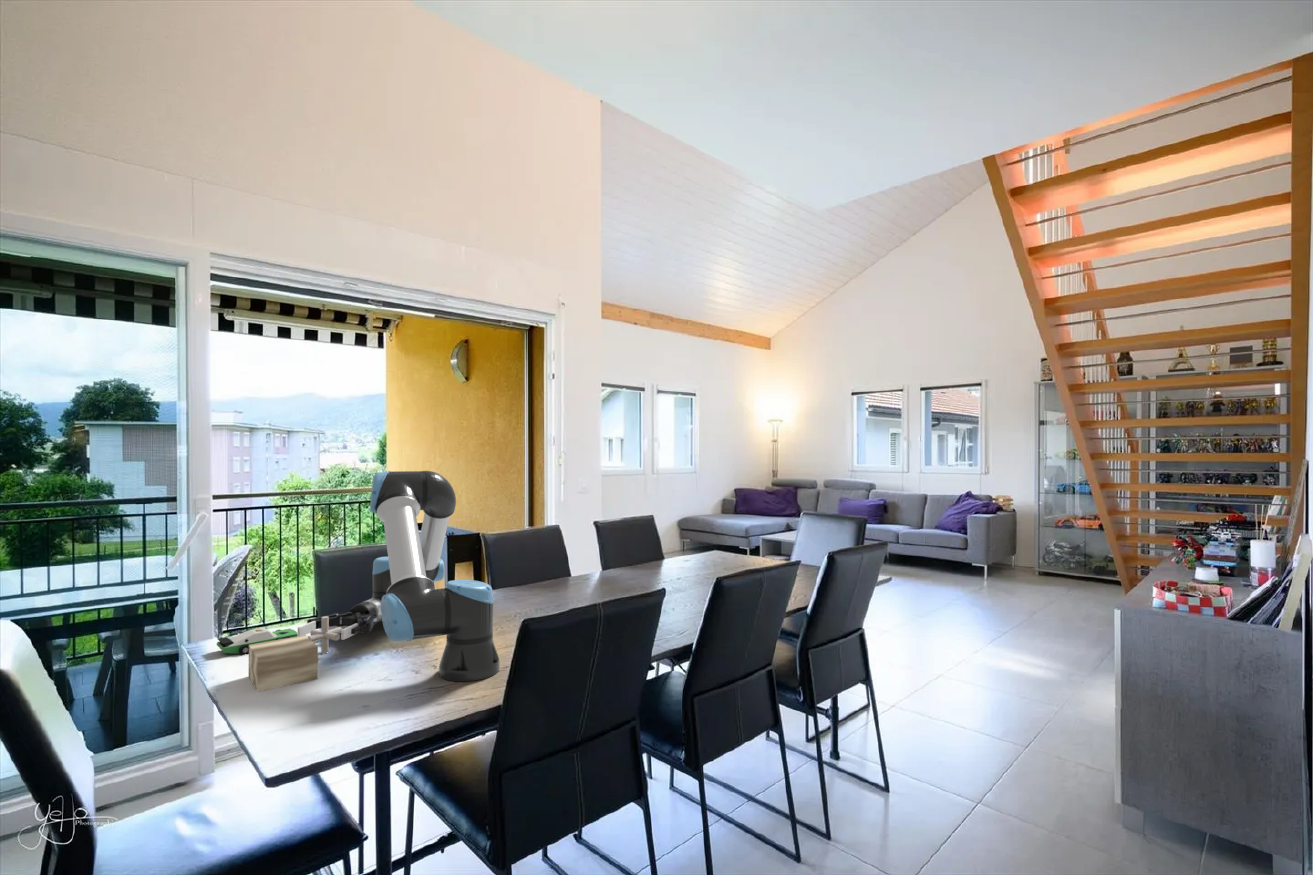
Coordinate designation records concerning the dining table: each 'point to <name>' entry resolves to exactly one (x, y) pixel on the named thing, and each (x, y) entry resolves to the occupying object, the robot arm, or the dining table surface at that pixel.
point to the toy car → (252, 639)
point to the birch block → (282, 662)
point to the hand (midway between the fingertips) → (320, 633)
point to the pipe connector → (325, 634)
